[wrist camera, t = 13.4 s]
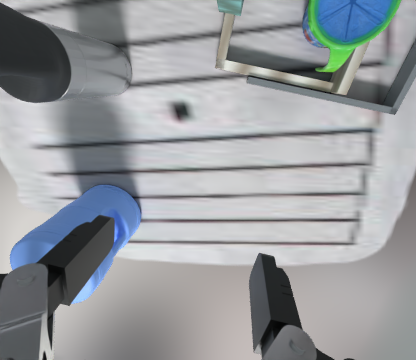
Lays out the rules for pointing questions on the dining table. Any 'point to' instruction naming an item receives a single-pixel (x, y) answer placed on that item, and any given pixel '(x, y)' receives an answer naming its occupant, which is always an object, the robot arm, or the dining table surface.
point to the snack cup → (345, 25)
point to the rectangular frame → (409, 70)
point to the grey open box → (339, 84)
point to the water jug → (76, 215)
